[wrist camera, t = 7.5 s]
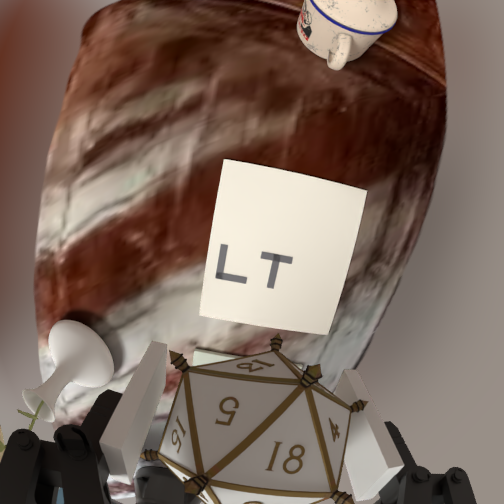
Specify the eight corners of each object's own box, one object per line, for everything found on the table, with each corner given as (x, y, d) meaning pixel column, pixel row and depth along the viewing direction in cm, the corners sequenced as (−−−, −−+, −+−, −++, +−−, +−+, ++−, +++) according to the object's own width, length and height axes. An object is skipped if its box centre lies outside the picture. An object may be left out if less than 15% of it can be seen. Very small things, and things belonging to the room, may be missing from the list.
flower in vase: (70, 299, 33) (-53, 407, 9) (131, 354, 35) (49, 502, 11) (45, 348, 35) (-42, 443, 11) (96, 394, 37) (32, 508, 13)
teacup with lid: (300, -1, 24) (318, -58, 12) (369, 20, 24) (408, -25, 13) (283, 73, 27) (301, 22, 15) (361, 95, 27) (411, 62, 16)
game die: (281, 327, 17) (441, 384, 9) (236, 443, 16) (356, 529, 8) (139, 285, 11) (346, 414, 4) (100, 441, 10) (202, 610, 2)
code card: (327, 334, 34) (327, 335, 34) (199, 314, 33) (198, 315, 33) (366, 190, 30) (367, 190, 30) (224, 159, 29) (224, 158, 29)
